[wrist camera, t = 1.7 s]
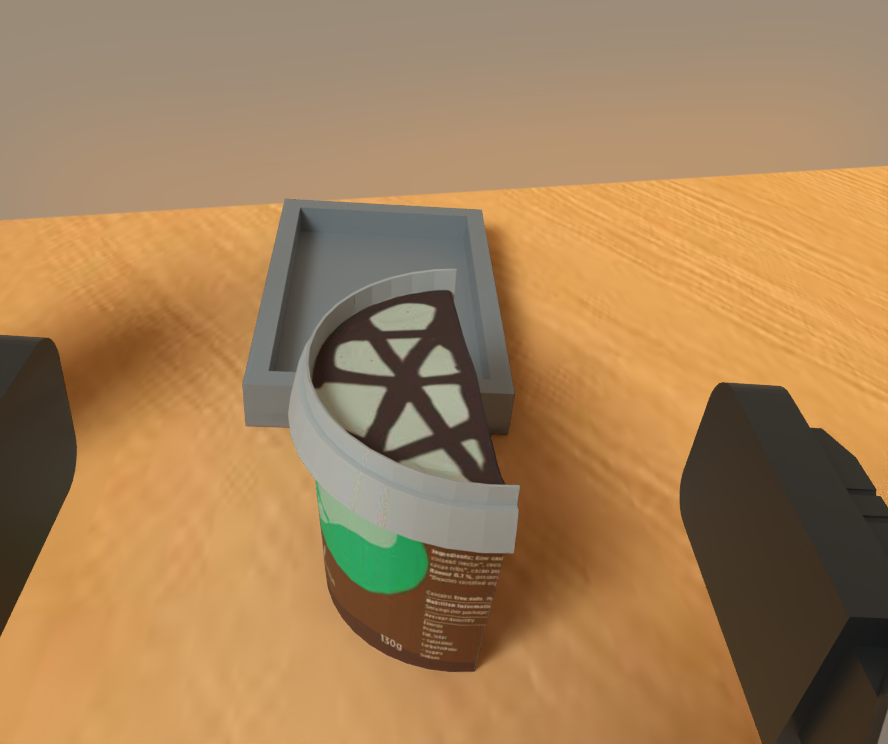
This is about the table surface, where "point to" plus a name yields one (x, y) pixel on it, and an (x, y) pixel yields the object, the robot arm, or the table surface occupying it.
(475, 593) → the food container
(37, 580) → the table surface
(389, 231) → the tray
